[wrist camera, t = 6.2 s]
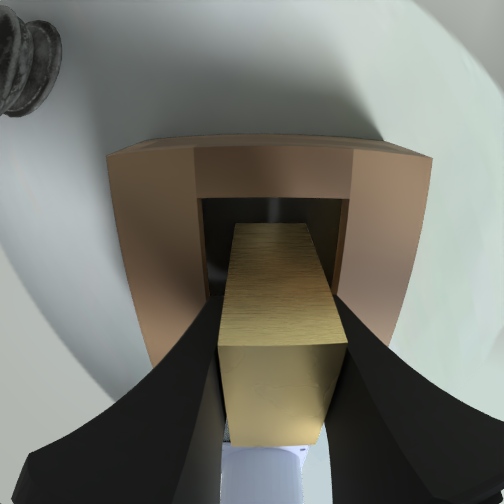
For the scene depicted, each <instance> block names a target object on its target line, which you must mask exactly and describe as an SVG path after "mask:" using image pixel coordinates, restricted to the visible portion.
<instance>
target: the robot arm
mask: <svg viewBox="0 0 504 504" xmlns="http://www.w3.org/2000/svg"><path fill="white" fill-rule="evenodd" d="M332 296H333V299H334V302H335V305H336V308H337V311H338V314H339V317H340V320H341V323H342V326H343V329H344V332H345V335H346V338H347V341H348V344H347V348H346V352H345V355H344V359H343V362H342V366H341V369H340V373H339V376H338V380H337V383H336V386H335V389H334V393H333V396H332V399H331V402H330V405H329V408H328V411H327V414H326V417H325V420H324V423H325V428H326V433H327V438H328V444H329V455H330V465H331V478H332V498H333V504H499V503H501V502H502V501H503V497H502V494H501V490H503V489H504V422H503V421H501V420H498V419H495V418H493V417H491V416H489V415H487V414H484V413H483V412H481V411H479V410H477V409H474V408H473V407H470V406H469V405H467V404H465V403H463V402H461V401H460V400H458V399H456V398H455V397H453V396H452V395H450V394H448V393H447V392H445V391H444V390H442V389H440V388H439V387H437V386H436V385H434V384H433V383H431V382H430V381H429V380H427V379H426V378H425V377H423V376H422V375H421V374H419V373H418V372H417V371H415V370H414V369H413V368H411V367H410V366H409V365H408V364H406V363H405V362H404V361H403V360H402V359H401V358H399V357H398V356H397V355H396V354H395V353H394V352H393V351H392V350H390V349H389V348H388V347H387V346H386V345H385V344H384V343H383V342H382V341H381V340H380V339H379V338H378V337H377V336H376V335H375V334H374V333H373V332H372V331H371V330H370V329H369V328H368V327H367V326H366V325H365V324H364V323H363V322H362V321H361V320H360V319H359V318H358V317H357V316H356V315H355V314H354V313H353V312H352V311H351V309H350V308H349V307H348V306H347V305H346V304H345V303H344V302H343V301H342V300H341V299H340V298H339V297H338V296H337V295H332ZM223 303H224V296H210V297H209V298H208V299H207V301H206V303H205V304H204V306H203V307H202V309H201V310H200V312H199V313H198V315H197V316H196V318H195V319H194V320H193V322H192V323H191V325H190V326H189V327H188V328H187V330H186V331H185V332H184V334H183V335H182V336H181V338H180V339H179V340H178V341H177V343H176V344H175V345H174V346H173V347H172V348H171V350H170V351H169V352H168V353H167V354H166V355H165V356H164V358H163V359H162V360H161V361H160V362H159V363H158V364H157V365H156V366H155V367H154V368H153V369H152V371H151V372H150V373H149V374H148V375H146V376H145V377H144V378H143V379H142V380H141V381H140V382H139V383H138V384H137V385H136V386H135V387H134V388H133V389H131V390H130V391H129V392H128V393H127V394H125V395H124V396H123V397H122V398H121V399H119V400H118V401H117V402H116V403H114V404H113V405H112V406H111V407H109V408H108V409H107V410H105V411H104V412H102V413H101V414H99V415H98V416H96V417H95V418H93V419H92V420H91V421H89V422H88V423H86V424H84V425H83V426H81V427H80V428H78V429H77V430H75V431H73V432H72V433H70V434H68V435H66V436H65V437H63V438H61V439H59V440H57V441H55V442H53V443H51V444H49V445H46V446H44V447H42V448H40V449H38V450H36V451H34V452H31V453H29V455H28V457H27V459H26V461H25V463H24V466H23V468H22V471H21V473H20V476H19V478H18V481H17V484H16V487H15V489H14V492H13V495H12V498H11V499H12V502H13V503H14V504H304V499H303V486H302V474H301V469H302V466H303V464H304V461H305V458H306V455H307V452H308V449H309V445H301V446H283V447H232V446H231V443H228V442H223V436H224V429H225V423H226V417H227V413H226V406H225V399H224V392H223V385H222V377H221V369H220V361H219V353H218V339H219V331H220V324H221V317H222V310H223ZM221 472H222V484H221V498H220V483H221ZM0 504H1V503H0Z"/></svg>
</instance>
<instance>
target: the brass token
mask: <svg viewBox="0 0 504 504" xmlns="http://www.w3.org/2000/svg"><path fill="white" fill-rule="evenodd" d="M347 344H348V341H347V338H346V335H345V332H344V329H343V326H342V323H341V320H340V317H339V314H338V311H337V308H336V305H335V302H334V299H333V296H332V294H331V291H330V288H329V285H328V282H327V279H326V277H325V274H324V271H323V268H322V266H321V263H320V260H319V257H318V255H317V252H316V249H315V247H314V244H313V241H312V239H311V236H310V233H309V231H308V228H307V226H306V223H236V224H235V230H234V236H233V243H232V249H231V256H230V263H229V269H228V276H227V283H226V289H225V296H224V303H223V310H222V317H221V324H220V331H219V339H218V353H219V361H220V369H221V377H222V385H223V392H224V399H225V406H226V413H227V420H228V427H229V433H230V440H231V446H232V447H283V446H301V445H315V444H316V442H317V439H318V437H319V434H320V431H321V428H322V425H323V423H324V420H325V417H326V414H327V411H328V408H329V405H330V402H331V399H332V396H333V393H334V389H335V386H336V383H337V380H338V376H339V373H340V369H341V366H342V362H343V359H344V355H345V352H346V348H347Z"/></svg>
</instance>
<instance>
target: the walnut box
mask: <svg viewBox="0 0 504 504" xmlns="http://www.w3.org/2000/svg"><path fill="white" fill-rule="evenodd" d="M106 158H107V167H108V175H109V183H110V190H111V197H112V203H113V209H114V215H115V221H116V227H117V232H118V237H119V242H120V247H121V252H122V257H123V261H124V266H125V270H126V275H127V279H128V283H129V287H130V291H131V295H132V299H133V303H134V307H135V310H136V314H137V318H138V321H139V325H140V328H141V332H142V335H143V338H144V342H145V345H146V348H147V351H148V354H149V357H150V360H151V364H152V367H153V368H154V367H155V366H156V365H157V364H158V363H159V362H160V361H161V360H162V359H163V358H164V356H165V355H166V354H167V353H168V352H169V351H170V350H171V348H172V347H173V346H174V345H175V344H176V343H177V341H178V340H179V339H180V338H181V336H182V335H183V334H184V332H185V331H186V330H187V328H188V327H189V326H190V325H191V323H192V322H193V320H194V319H195V318H196V316H197V315H198V313H199V312H200V310H201V309H202V307H203V306H204V304H205V303H206V301H207V299H208V298H209V297H210V294H209V283H208V273H207V262H206V250H205V238H204V226H203V212H202V198H232V197H297V198H340V199H342V206H341V216H340V225H339V234H338V243H337V251H336V259H335V267H334V274H333V281H332V288H331V294H332V295H337V296H338V297H339V298H340V299H341V300H342V301H343V302H344V303H345V304H346V305H347V306H348V307H349V308H350V309H351V311H352V312H353V313H354V314H355V315H356V316H357V317H358V318H359V319H360V320H361V321H362V322H363V323H364V324H365V325H366V326H367V327H368V328H369V329H370V330H371V331H372V332H373V333H374V334H375V335H376V336H377V337H378V338H379V339H380V340H381V341H382V342H383V343H384V344H385V345H386V346H387V347H388V346H389V343H390V340H391V338H392V335H393V332H394V329H395V326H396V323H397V320H398V317H399V314H400V311H401V307H402V304H403V301H404V297H405V294H406V290H407V287H408V283H409V280H410V276H411V272H412V268H413V264H414V260H415V256H416V252H417V248H418V243H419V239H420V234H421V229H422V224H423V219H424V214H425V208H426V202H427V196H428V190H429V183H430V176H431V168H432V160H433V158H431V157H428V156H425V155H423V154H420V153H417V152H415V151H412V150H409V149H406V148H404V147H401V146H398V145H395V144H392V143H389V142H386V141H379V140H370V139H359V138H348V137H335V136H318V135H295V134H226V135H202V136H186V137H173V138H161V139H151V140H146V141H143V142H141V143H138V144H135V145H132V146H130V147H127V148H124V149H122V150H119V151H117V152H114V153H112V154H109V155H107V156H106Z"/></svg>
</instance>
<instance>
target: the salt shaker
mask: <svg viewBox="0 0 504 504" xmlns="http://www.w3.org/2000/svg"><path fill="white" fill-rule="evenodd" d="M61 58H62V45H61V40H60V35H59V34H58V32H57V30H56V28H55V27H54V26H53V25H51V24H50V23H48V22H45V21H40V20H37V21H32V22H28V23H27V24H25V23H24V22H23V21H22V20H21V19H20V18H18V17H17V16H16V14H15V12H14V11H13V10H11V9H10V8H9V7H7V6H0V116H1V115H2V114H5V115H7V116H9V117H22V116H25V115H28V114H30V113H31V112H33V111H34V110H35V109H37V108H38V107H39V106H40V105H41V103H42V102H43V101H44V100H45V99H46V98H47V96H48V94H49V92H50V91H51V89H52V88H53V86H54V83H55V80H56V78H57V75H58V73H59V68H60V64H61Z"/></svg>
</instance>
